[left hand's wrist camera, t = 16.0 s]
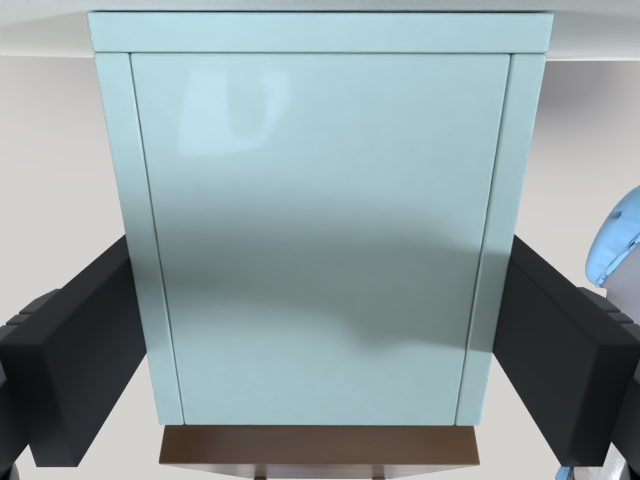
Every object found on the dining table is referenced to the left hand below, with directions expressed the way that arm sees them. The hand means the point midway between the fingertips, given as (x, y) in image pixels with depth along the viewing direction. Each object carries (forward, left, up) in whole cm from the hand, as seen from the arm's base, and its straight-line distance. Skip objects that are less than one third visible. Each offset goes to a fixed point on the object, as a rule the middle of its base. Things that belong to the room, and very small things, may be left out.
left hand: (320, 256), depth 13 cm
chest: (+4, -4, -6) cm, 8 cm away
